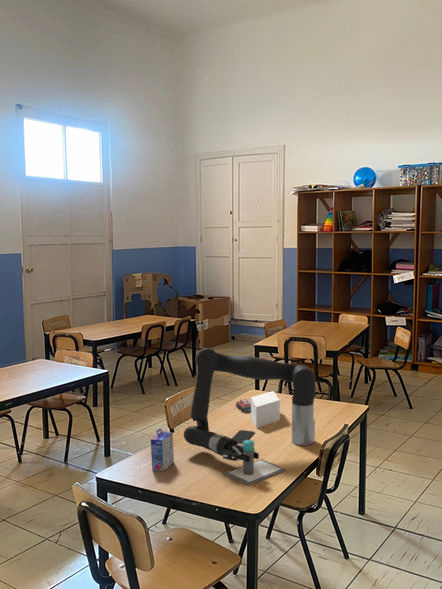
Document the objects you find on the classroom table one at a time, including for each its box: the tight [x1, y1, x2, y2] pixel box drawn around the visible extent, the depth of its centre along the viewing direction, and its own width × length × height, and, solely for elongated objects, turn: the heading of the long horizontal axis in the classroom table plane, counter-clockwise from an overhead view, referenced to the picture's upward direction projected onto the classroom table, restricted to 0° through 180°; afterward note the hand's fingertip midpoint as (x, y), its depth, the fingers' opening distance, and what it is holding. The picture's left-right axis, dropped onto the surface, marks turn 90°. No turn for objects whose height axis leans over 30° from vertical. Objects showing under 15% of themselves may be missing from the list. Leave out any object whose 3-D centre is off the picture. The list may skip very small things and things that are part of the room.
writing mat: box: [223, 458, 287, 486], centre depth 219 cm, size 20×13×1 cm, turn 132°
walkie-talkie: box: [235, 398, 251, 414], centre depth 302 cm, size 9×4×20 cm
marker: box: [242, 439, 255, 475], centre depth 216 cm, size 4×4×12 cm
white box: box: [250, 390, 281, 429], centre depth 282 cm, size 14×29×10 cm, turn 159°
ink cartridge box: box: [150, 428, 175, 472], centre depth 225 cm, size 10×6×14 cm, turn 161°
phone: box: [231, 429, 256, 445], centre depth 257 cm, size 7×1×15 cm
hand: (253, 457), depth 214 cm, fingers closed on marker, 4 cm apart
